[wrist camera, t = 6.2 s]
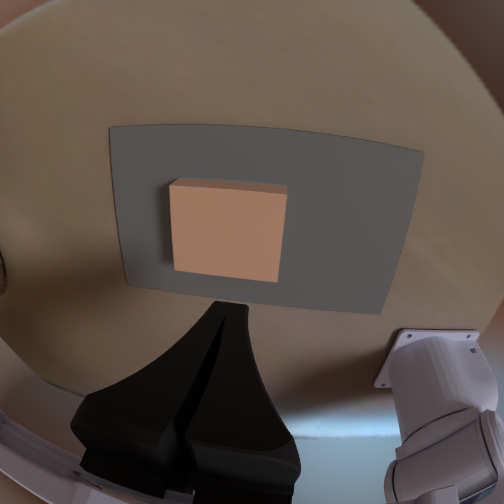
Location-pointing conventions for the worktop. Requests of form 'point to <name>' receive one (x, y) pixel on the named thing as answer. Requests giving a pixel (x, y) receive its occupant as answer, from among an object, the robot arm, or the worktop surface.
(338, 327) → the worktop surface
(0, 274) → the sculpture
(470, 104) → the worktop surface
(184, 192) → the tile
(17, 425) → the robot arm
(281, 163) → the mat
